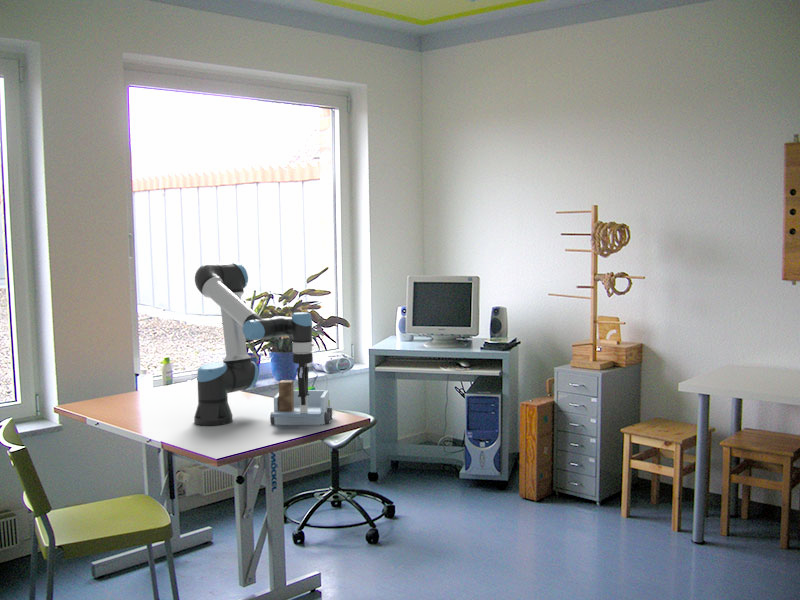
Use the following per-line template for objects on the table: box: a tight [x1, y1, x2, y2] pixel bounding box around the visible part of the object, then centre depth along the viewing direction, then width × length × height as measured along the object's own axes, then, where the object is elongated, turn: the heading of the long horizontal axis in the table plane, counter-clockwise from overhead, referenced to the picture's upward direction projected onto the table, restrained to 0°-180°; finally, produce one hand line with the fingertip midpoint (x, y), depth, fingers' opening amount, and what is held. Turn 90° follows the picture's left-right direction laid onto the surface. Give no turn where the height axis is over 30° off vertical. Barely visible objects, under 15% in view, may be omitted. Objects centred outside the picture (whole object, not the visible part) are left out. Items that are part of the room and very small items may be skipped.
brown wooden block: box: [278, 379, 295, 412], centre depth 308 cm, size 5×5×12 cm
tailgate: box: [270, 411, 323, 417], centre depth 300 cm, size 19×2×8 cm
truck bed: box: [269, 389, 333, 426], centre depth 312 cm, size 23×15×11 cm, turn 88°
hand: (303, 412), depth 298 cm, fingers closed
